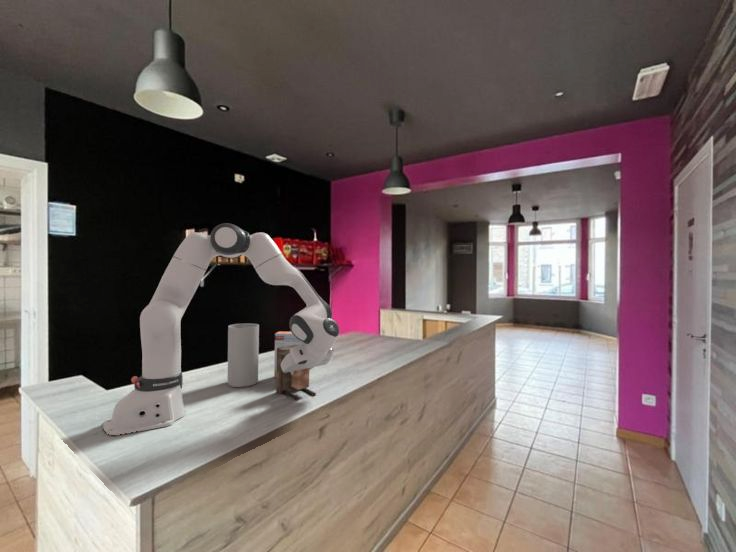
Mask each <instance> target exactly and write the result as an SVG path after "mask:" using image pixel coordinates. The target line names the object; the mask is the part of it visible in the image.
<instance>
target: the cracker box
mask: <svg viewBox="0 0 736 552" xmlns="http://www.w3.org/2000/svg"><path fill="white" fill-rule="evenodd" d="M302 343H304V342H302V341H301V340H299V339H297V338H296V337H295V336H294V335H293V334H292V332H291V331H282V330H281V331H277V332H275V333H274V379H276V380H277V348H280V347H287V346H293V345H300V344H302Z"/></svg>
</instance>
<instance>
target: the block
mask: <svg viewBox="0 0 736 552" xmlns="http://www.w3.org/2000/svg"><path fill="white" fill-rule="evenodd" d="M291 386H292V387H294V388H296V389H295V390H297V391H299V390H301V389H303V388H307V389H308V388H309V387H310V371H309V368H307V369H302V370H297V371H296V373H295V374H294V375H292V381H291Z"/></svg>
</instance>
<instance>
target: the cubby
mask: <svg viewBox="0 0 736 552" xmlns="http://www.w3.org/2000/svg"><path fill="white" fill-rule="evenodd" d="M295 346H298V345H293V346H287V347H280V348H277V379H276V386H275V389H276V391H275V392H276V393H277V394H279V395H280V396H281V395H283V394H284V395H286V396H288V397H289V398H291V399H293V400H295V401H299V397H298V396H297V395H295V394H293V393H291V392H290V391H294V390H297V389H296V388H294V387H292V386H291V381H292V375H291V373H290V372H287V373H284V372H283V371H282V369H281V362H282V361H283V359H284V358H285V356H286V355H287V354H288V353H290V349H291V348H292V347H295ZM300 390H302V391H304V392H306V393H308V394H309V395H312V397H313V396H314V397H315V396H316V395H317V393H316V392H315V391H313V390H310V389H309V388H308V387H307V388H303V389H300Z"/></svg>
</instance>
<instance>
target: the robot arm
mask: <svg viewBox="0 0 736 552" xmlns="http://www.w3.org/2000/svg"><path fill="white" fill-rule="evenodd" d="M241 256H243V257H246V259H248V260H249V261H250V263H251V265H252V266H253V269H254V270H255V272H256V274H258V277H259V278H260V279H261V280H262V281H263V282H264V283H265V284H268V285H272V286H288V287H291V288H293V289H294V290H295V291H296V292H297V294H298V295H299V296H300V298H301V299H302V300H303V302H304V304H306V306H305V307H304V308H303V309H301V310H299V311H298V312H296V313H295V314H293V315H292V316H291V317H290V319H289V323H288V324H289V328H290V329H289V330H290V332H292V334H293V335H294V336H295V337H296V338H297V339H299V340H301V341H302V342H304V343H302V344H300V345H298V346H295V347H292V348H291V349H290V353H288V354H287V355H286V356H285V358H284V359H283V361H282V362H281V369H282V371H283V372H284V373H287V372H290V373H291V375H294V374H295V373H296V371H297V370H302V369H307V368H309V372H310V371H311V370H312V369H314V368H315V367H320V366H322V367H323V366H325V365H328V364H329V362H330V361H331V359H332V356H333V355H332V354H333V353H334V352H335V350H334V348H333V346H334V344H335V343H336V342H337V340H338V338H339V335H340V327H339V324H338V323H337V321H336V320H334V319H332V315H333V314H332V313H333V312H332V309H331V307H330V305H329V304H328V303H327V302H326V301H325V300H324V299H323V298H322V297H321V296H320V295H319V294H318V292H317V291H316V290H315V288H314V287H313V286H312V285H311V283H310V282H309V280H308V279H307V278H306V277H305V275H304V273H302V272H301V271H300V269H299V268H297V267H295V266H293V265H292V263H290V262H289V261H288V260H287V259H286V257H285V256H284V254H283V252H282V251H281V250H280V247H278V245H277V243H276V242H275V241H274V240H273V238H271V236H270V235H269V234H268V233H265V232H261V231H260V232H255V233H253V234H250V233H249V232H248V231H246V230H244V229H242V228H240V227H239V226H237V225H235V224H232V223H225V222H223V223H221V224H218V225H217V226H215V227H213V229H212V231H211V233H210V234H205V233H202V232H198V231H197V232H195V231H194V232H191V233H189V234H188V235H187V236H186V237H185V238H184V239H183V241H181V243H180V244H179V246H178V248H177V249H176V251H175V252H174V254H173V256H172V258H171V260H170V262H169V263H168V265H167V267H166V268H165V270H164V273H163V275H162V276H161V279H160V281H159V283H158V286H157V288H155V289H156V290H155V292H154V294H153V295H152V298H151V300H150V302H149V303H148V304H147V305H146V306H145V307H144V309H142V311H141V312H140V316H139V328H140V329H139V330H140V331H139V332H140V341H141V343H140V344H141V353H142V354H141V355H142V357H141V358H142V360H141V364H142V365H141V366H142V367H141V370H142V371H141V373H142V374H141V375H140V376H139V377H138V376H136V375H135V376H132V378H131V379H130V381H131V383H132V384H133V385H134V389H133V390H132V391H130V392H129V393H128V394H126V395H125V396H124V397H123V398H121V399H120V400H118V401H117V402H116V404H115V406H114V409H113V411H112V416H110V417H108V418H107V419H105V420H104V421H103V426H102V430H103V429H104V430H103V432H104V431H105V432H106V433H107V434H106V433H105V432H104V433H105V434H106V435H108V434H109V435H108V436H111V435H117V436H121V435H120V434H122V435H126V434H125V433H127V434H132V433H131V432H133V433H137V432H136V431H138V432H143V431H148V430H154V429H159V428H164V427H169V426H171V425H172V424H174V423H175V421H177V420H179V419H181V418H182V417H184V416H185V414H186V413H187V411H186V408H185V404H184V400H183V393H182V392H183V391H182V388H183V379H184V378H183V377H184V376H183V372H182V367H181V366H182V345H181V344H182V339H181V329H182V328H181V321H182V318H183V316H184V314H185V312H186V310H187V308H188V306H189V305H190V302H191V300H192V299H193V297H194V295H195V294H196V292H197V289H198V287H199V286H200V283H201V281H202V279H203V277H204V276H205V273H206V272H207V270H208V267H209V266H210V264H211V262H212V260H213V259H214V258H216V257H217V258H224V259H233V260H234V259H238V258H240V257H241Z"/></svg>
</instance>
